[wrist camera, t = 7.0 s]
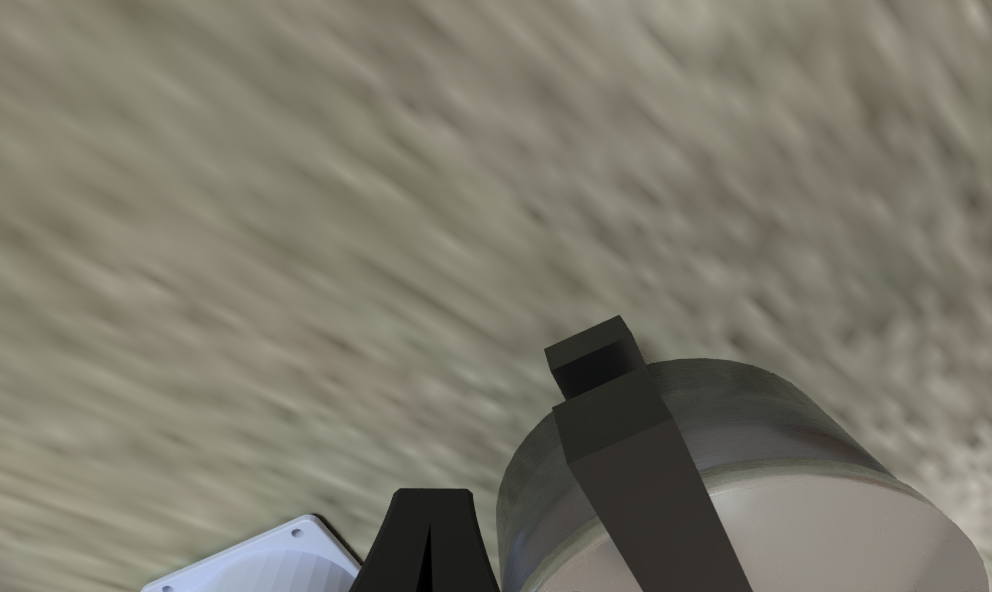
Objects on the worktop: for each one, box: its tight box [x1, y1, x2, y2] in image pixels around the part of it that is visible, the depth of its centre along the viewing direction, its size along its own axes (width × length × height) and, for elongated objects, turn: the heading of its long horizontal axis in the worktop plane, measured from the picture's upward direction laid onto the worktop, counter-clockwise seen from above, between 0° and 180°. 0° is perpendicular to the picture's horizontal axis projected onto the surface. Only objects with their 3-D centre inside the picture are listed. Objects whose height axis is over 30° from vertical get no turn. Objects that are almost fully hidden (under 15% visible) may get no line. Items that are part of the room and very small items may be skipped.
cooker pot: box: [496, 315, 896, 592], centre depth 20 cm, size 16×21×6 cm
